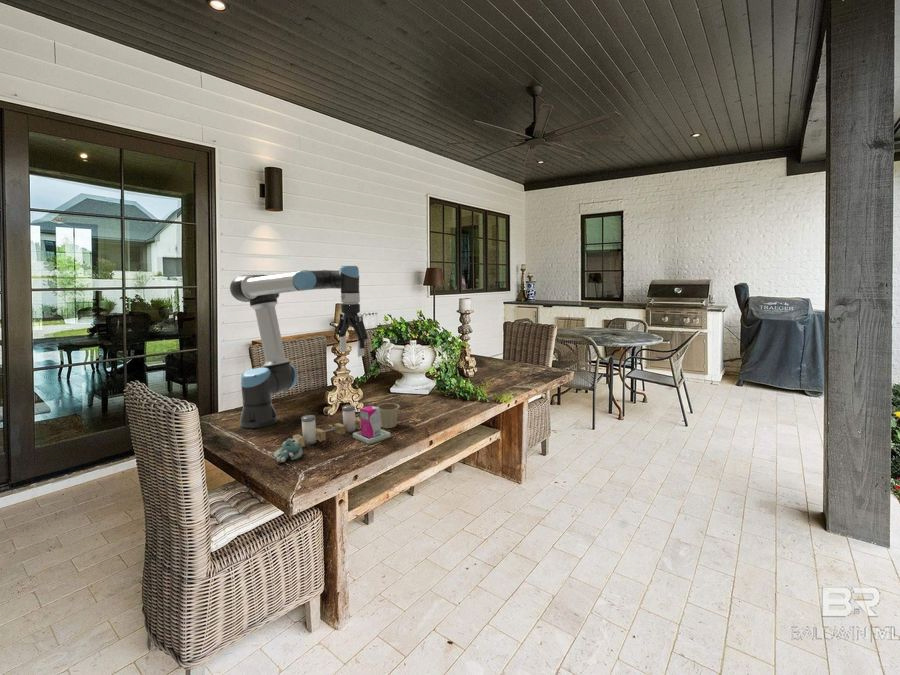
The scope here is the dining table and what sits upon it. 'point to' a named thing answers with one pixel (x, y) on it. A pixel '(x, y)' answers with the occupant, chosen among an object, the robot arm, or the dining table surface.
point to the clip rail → (321, 433)
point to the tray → (372, 440)
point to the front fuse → (309, 429)
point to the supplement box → (370, 421)
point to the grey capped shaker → (349, 418)
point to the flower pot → (388, 414)
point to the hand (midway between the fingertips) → (352, 353)
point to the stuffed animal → (289, 450)
